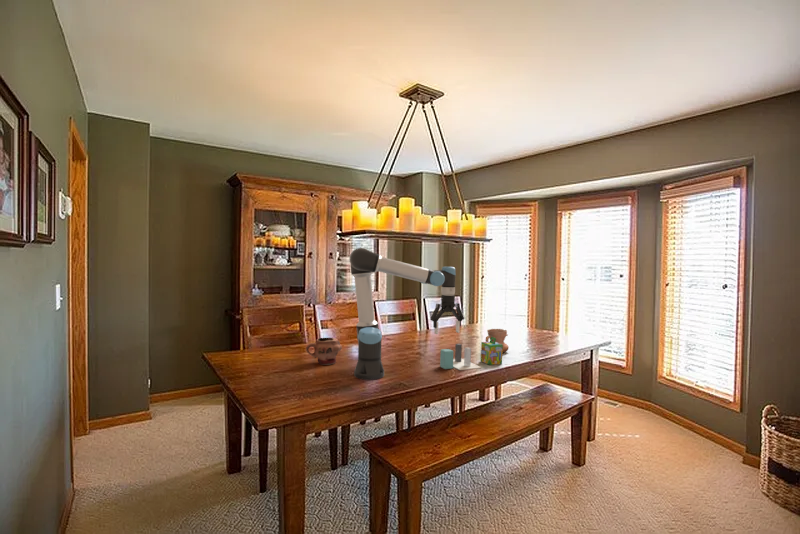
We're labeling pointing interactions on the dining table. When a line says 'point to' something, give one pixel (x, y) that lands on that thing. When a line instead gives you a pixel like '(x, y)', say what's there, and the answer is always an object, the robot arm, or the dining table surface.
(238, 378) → the dining table surface
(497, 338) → the ceramic jug
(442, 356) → the teal rectangular block
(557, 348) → the dining table surface
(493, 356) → the chalk box
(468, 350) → the steel post
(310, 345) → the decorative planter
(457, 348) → the black post
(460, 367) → the board
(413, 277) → the robot arm
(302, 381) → the dining table surface
